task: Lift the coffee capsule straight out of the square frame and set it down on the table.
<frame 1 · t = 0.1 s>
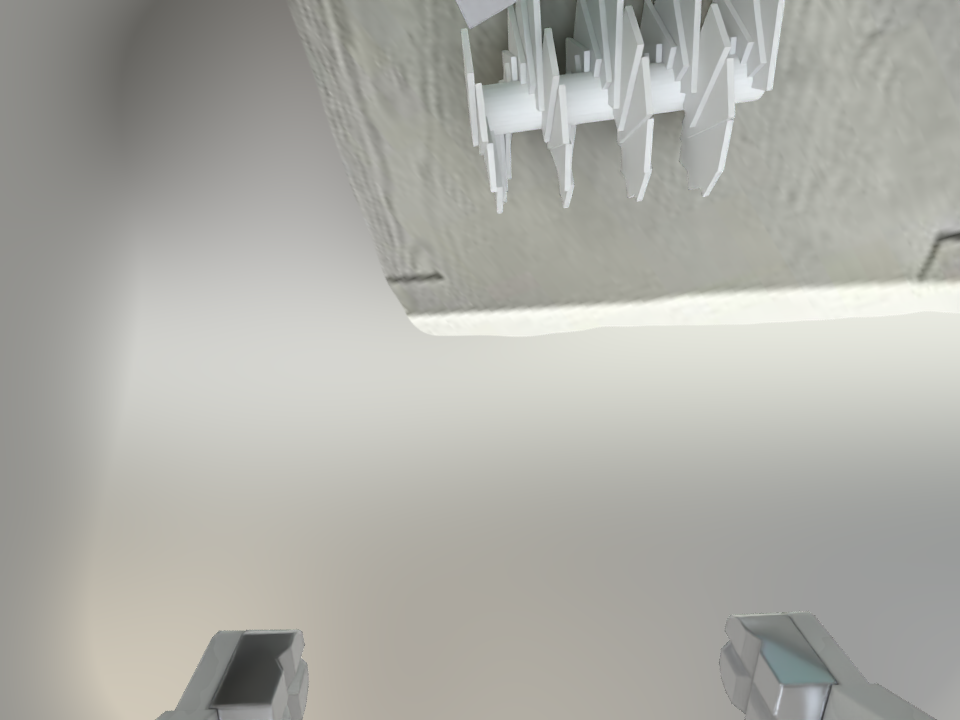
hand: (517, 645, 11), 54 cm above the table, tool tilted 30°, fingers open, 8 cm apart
spiral staircase: (594, 58, 54), on the table
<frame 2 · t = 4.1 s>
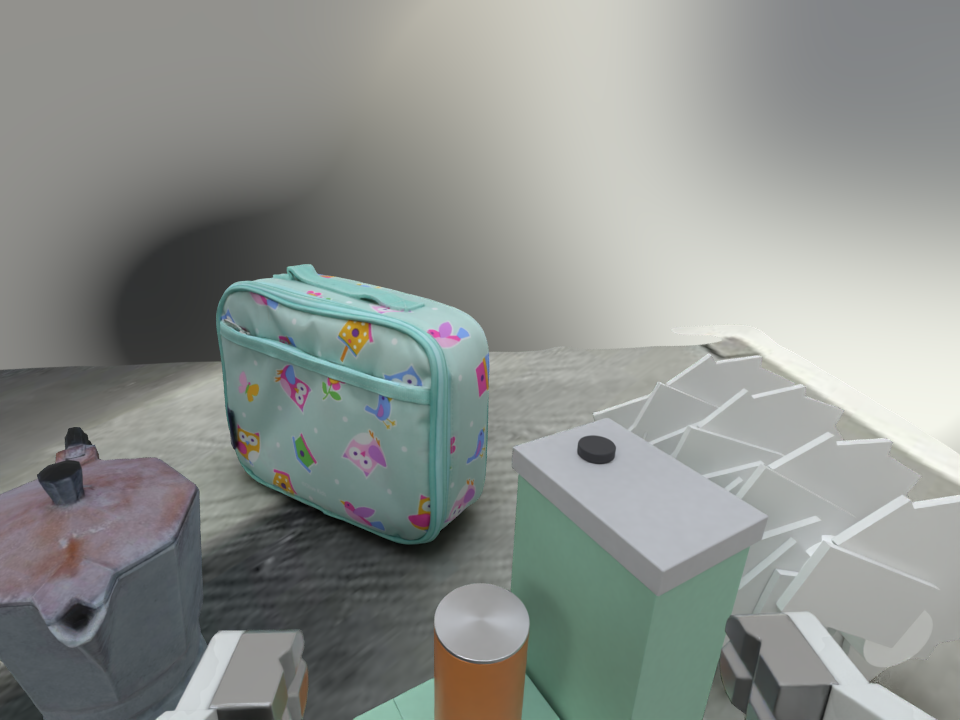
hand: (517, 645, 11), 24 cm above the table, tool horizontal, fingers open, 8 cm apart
coffee capsule: (478, 710, 28), in the square frame
coffee maker tower: (592, 712, 35), on the table
lunch box: (349, 492, 55), on the table
spiral staircase: (731, 592, 44), on the table
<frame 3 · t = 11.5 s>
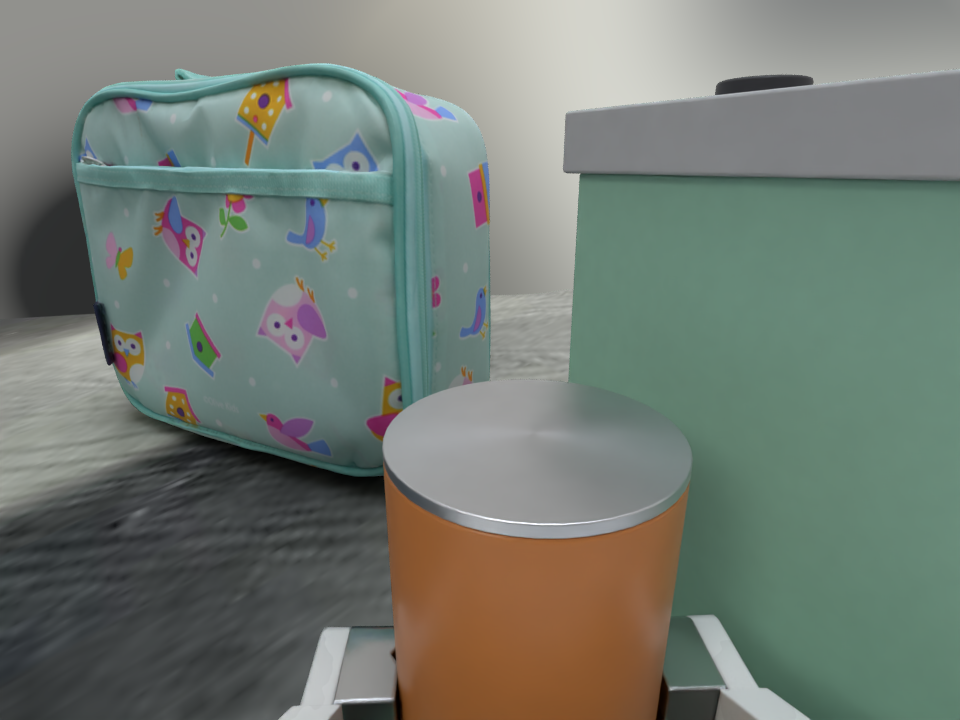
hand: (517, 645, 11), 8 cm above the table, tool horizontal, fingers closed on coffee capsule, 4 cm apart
lunch box: (287, 427, 37), on the table
when the fingers open (7 cm above the table, at t = 19.6 s): coffee capsule stays where it is, on the table.
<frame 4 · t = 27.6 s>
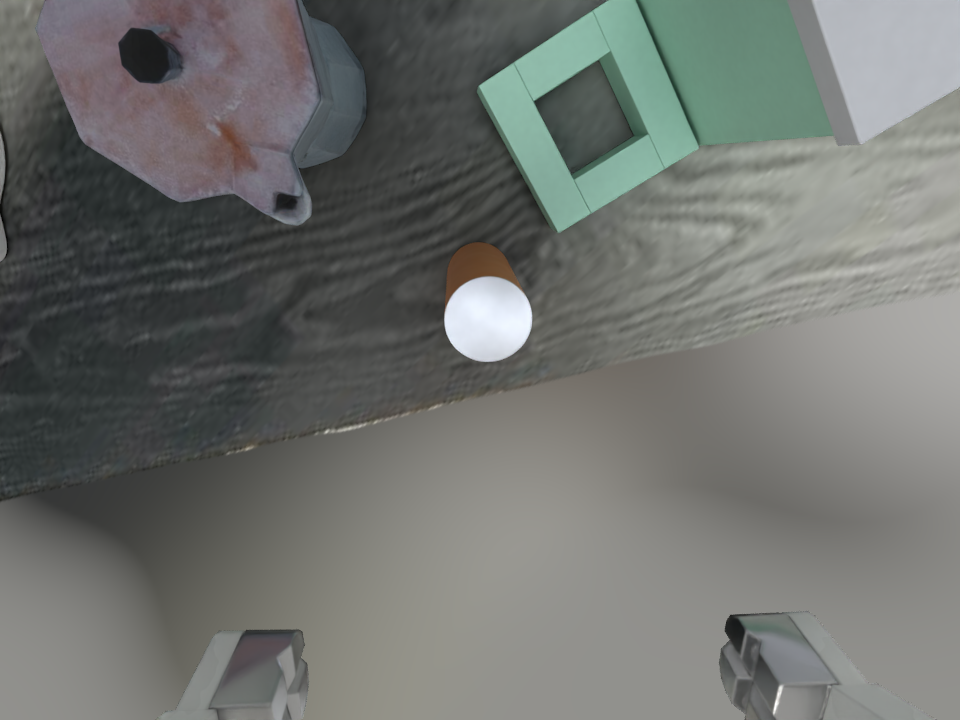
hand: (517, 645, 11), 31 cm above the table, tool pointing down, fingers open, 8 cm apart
square frame: (581, 121, 37), on the table
moka pot: (292, 91, 35), on the table
coffee capsule: (482, 292, 34), on the table
coffee maker tower: (699, 46, 35), on the table
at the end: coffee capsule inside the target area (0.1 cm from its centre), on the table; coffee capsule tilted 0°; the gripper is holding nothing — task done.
